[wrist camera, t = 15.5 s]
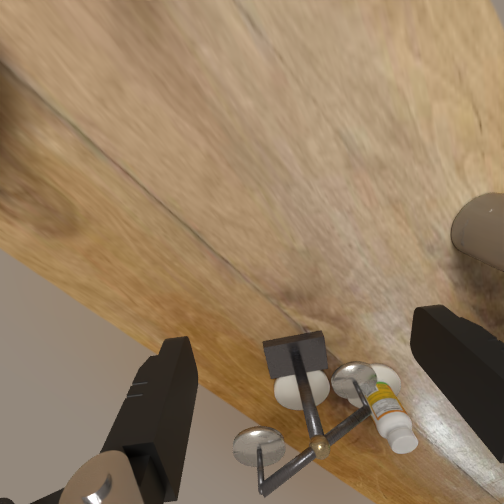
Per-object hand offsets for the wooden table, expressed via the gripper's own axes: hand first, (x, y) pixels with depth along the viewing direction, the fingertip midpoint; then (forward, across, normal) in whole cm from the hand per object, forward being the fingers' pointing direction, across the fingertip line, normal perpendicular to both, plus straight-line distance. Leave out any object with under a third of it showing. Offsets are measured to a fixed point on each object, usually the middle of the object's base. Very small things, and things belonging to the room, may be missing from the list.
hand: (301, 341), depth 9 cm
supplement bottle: (+27, -17, +37) cm, 49 cm away
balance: (+28, -3, +27) cm, 39 cm away
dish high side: (+28, -4, +35) cm, 45 cm away
